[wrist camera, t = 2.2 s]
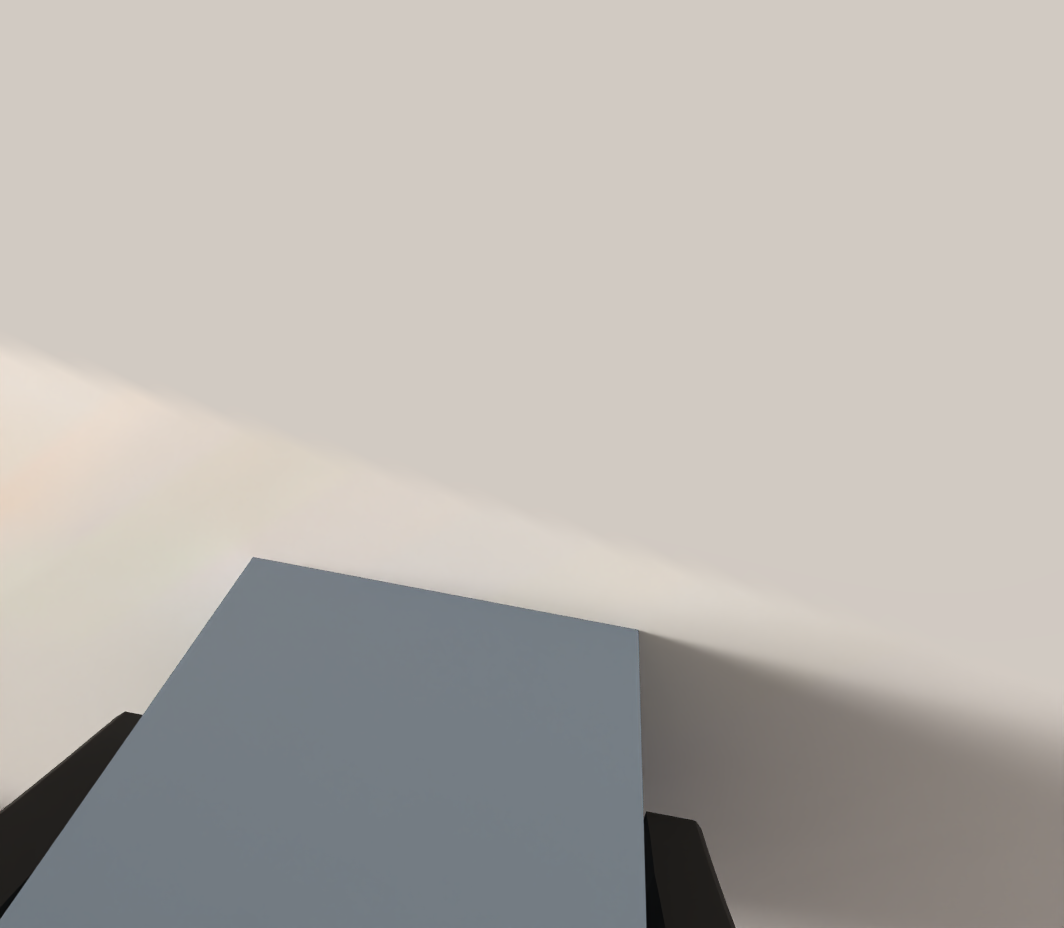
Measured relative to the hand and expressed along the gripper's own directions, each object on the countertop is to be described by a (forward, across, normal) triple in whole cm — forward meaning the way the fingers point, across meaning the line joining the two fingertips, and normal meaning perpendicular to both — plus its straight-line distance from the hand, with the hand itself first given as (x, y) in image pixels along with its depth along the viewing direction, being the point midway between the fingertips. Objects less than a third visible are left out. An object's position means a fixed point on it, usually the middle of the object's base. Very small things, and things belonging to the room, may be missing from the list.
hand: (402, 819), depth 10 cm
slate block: (+2, 0, 0) cm, 2 cm away
